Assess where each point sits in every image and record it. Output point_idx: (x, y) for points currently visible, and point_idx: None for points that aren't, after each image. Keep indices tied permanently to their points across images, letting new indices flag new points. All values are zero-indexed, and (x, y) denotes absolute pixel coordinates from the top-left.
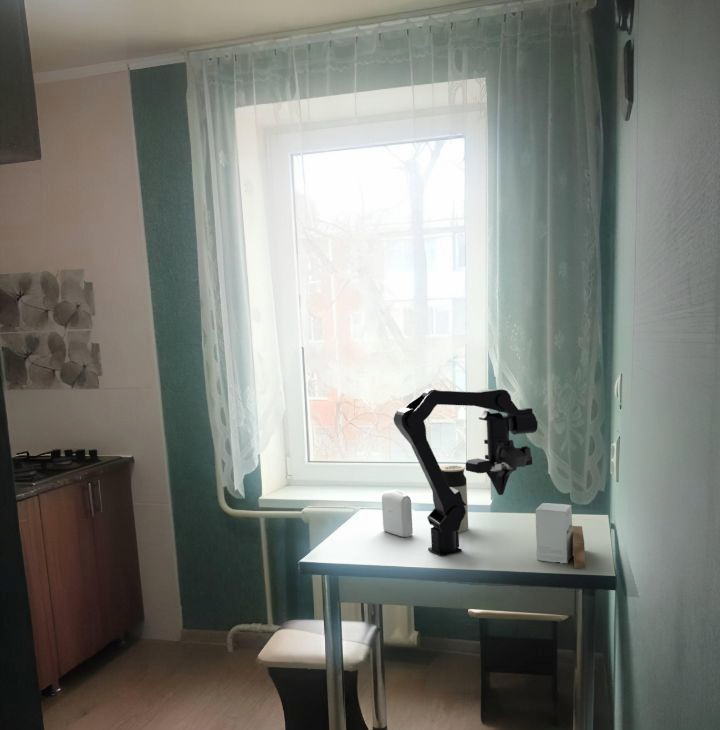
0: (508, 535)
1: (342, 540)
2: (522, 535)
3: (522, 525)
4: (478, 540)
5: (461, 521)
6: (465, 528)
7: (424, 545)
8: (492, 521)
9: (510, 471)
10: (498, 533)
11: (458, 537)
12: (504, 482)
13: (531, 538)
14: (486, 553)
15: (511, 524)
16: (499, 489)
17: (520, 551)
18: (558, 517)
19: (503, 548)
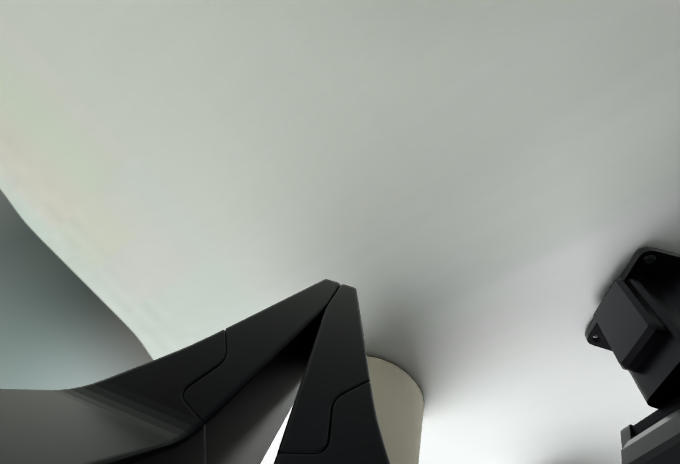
0: (297, 210)
1: None
2: (259, 166)
3: (173, 233)
4: (431, 271)
5: (381, 393)
6: (368, 362)
7: (628, 405)
8: (217, 331)
9: (3, 437)
10: (304, 253)
11: (644, 306)
12: (267, 348)
13: (263, 112)
14: (595, 142)
15: (194, 268)
16: (360, 331)
17: (460, 23)
18: None
19: (467, 123)
